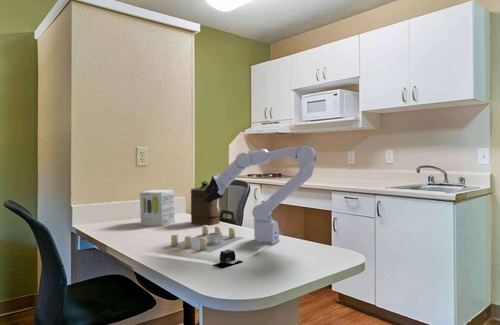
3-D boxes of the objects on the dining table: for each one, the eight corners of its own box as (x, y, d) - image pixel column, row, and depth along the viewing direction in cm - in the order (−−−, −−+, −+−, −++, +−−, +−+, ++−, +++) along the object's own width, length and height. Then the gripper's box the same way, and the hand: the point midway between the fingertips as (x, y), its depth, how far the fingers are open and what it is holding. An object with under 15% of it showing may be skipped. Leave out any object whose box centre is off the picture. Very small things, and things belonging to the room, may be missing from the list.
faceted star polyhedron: (225, 242, 138) (224, 233, 138) (218, 245, 133) (217, 235, 133) (213, 240, 141) (212, 232, 140) (205, 243, 136) (205, 234, 136)
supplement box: (139, 225, 182) (138, 192, 182) (153, 220, 195) (153, 189, 195) (162, 226, 179) (161, 192, 178) (175, 221, 191) (174, 189, 191)
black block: (234, 258, 120) (234, 245, 120) (249, 263, 115) (249, 249, 115) (205, 267, 111) (205, 253, 111) (220, 272, 106) (219, 257, 106)
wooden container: (225, 222, 185) (224, 180, 185) (202, 226, 175) (201, 182, 174) (208, 219, 196) (207, 180, 195) (185, 223, 186) (184, 181, 185)
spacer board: (243, 239, 145) (243, 227, 145) (210, 255, 124) (210, 240, 124) (204, 235, 154) (204, 224, 154) (167, 249, 133) (166, 236, 133)
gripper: (220, 162, 149) (199, 183, 152) (222, 177, 136) (199, 200, 139) (232, 171, 151) (211, 192, 154) (235, 187, 138) (212, 210, 141)
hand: (206, 197), depth 147 cm, fingers open, 7 cm apart
